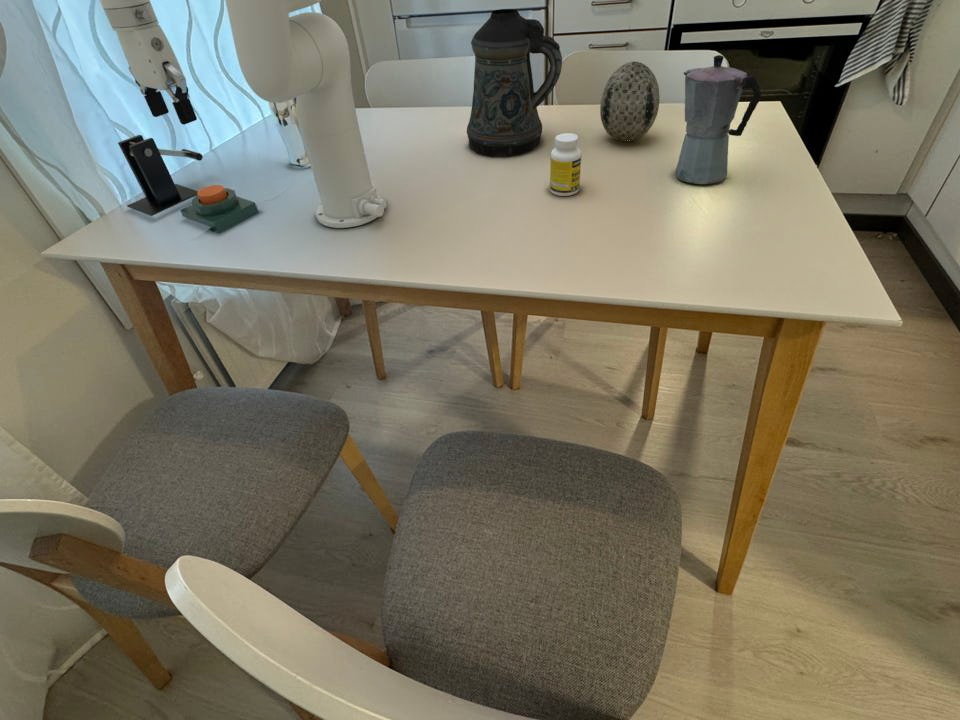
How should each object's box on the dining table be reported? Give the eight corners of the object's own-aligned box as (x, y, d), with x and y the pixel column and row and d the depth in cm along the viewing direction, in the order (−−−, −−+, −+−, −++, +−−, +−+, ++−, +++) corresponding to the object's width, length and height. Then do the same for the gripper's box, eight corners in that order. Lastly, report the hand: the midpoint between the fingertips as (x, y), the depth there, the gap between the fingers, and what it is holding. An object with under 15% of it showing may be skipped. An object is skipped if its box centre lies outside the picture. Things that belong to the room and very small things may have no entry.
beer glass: (311, 170, 118) (290, 96, 108) (282, 169, 120) (258, 97, 110) (324, 157, 123) (305, 85, 113) (296, 157, 125) (275, 86, 115)
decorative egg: (587, 138, 120) (591, 62, 109) (629, 125, 123) (637, 51, 113) (621, 155, 112) (629, 75, 102) (666, 141, 115) (678, 62, 105)
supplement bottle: (574, 198, 99) (576, 144, 92) (545, 195, 101) (546, 141, 94) (583, 186, 103) (586, 132, 96) (555, 182, 104) (556, 130, 98)
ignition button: (232, 196, 103) (229, 187, 101) (210, 207, 100) (206, 198, 99) (217, 191, 105) (214, 182, 104) (195, 201, 102) (191, 193, 101)
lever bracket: (178, 189, 116) (149, 127, 108) (203, 197, 112) (174, 133, 104) (129, 210, 110) (94, 147, 101) (153, 220, 106) (119, 155, 97)
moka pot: (684, 157, 108) (704, 43, 95) (755, 181, 99) (789, 57, 85) (652, 172, 105) (668, 55, 91) (722, 198, 95) (752, 71, 82)
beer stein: (462, 135, 127) (449, 9, 110) (543, 123, 128) (543, -3, 112) (475, 163, 114) (464, 25, 98) (565, 149, 116) (569, 11, 99)
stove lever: (187, 158, 114) (187, 146, 113) (202, 163, 112) (202, 151, 111) (125, 153, 104) (124, 140, 103) (140, 158, 102) (139, 144, 101)
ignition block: (259, 212, 105) (251, 193, 102) (219, 234, 100) (210, 213, 97) (224, 201, 110) (216, 182, 107) (184, 220, 105) (175, 201, 102)
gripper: (179, 15, 94) (217, 118, 105) (126, 9, 102) (168, 106, 113) (138, 25, 90) (183, 131, 101) (86, 18, 97) (133, 118, 109)
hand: (175, 118), depth 107 cm, fingers open, 9 cm apart
